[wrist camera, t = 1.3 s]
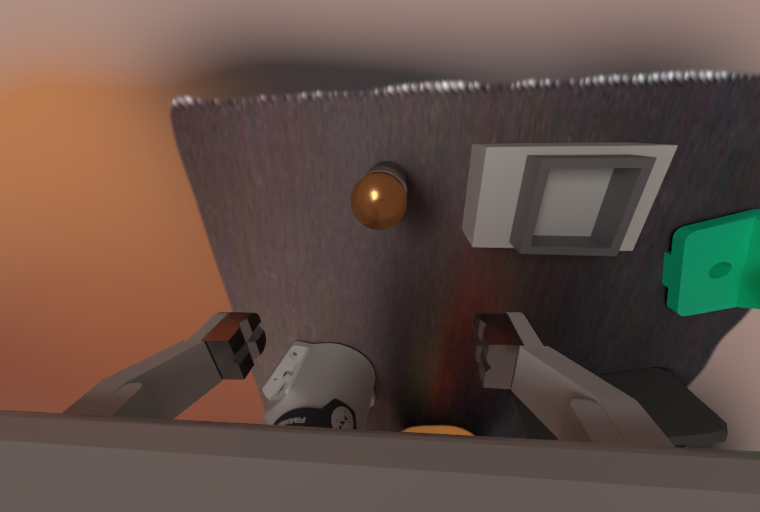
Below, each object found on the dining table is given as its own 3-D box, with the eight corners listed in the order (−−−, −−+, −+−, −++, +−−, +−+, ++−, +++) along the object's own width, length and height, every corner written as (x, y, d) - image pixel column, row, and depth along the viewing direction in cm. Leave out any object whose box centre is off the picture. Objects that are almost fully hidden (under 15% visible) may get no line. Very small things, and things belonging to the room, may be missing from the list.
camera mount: (665, 225, 32) (770, 265, 23) (744, 206, 30) (894, 240, 21) (659, 305, 36) (745, 365, 27) (728, 292, 35) (844, 351, 25)
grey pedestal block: (626, 142, 28) (713, 147, 20) (595, 230, 33) (657, 264, 25) (472, 143, 30) (496, 149, 22) (461, 228, 34) (478, 259, 26)
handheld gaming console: (509, 398, 46) (533, 462, 37) (507, 387, 45) (531, 451, 36) (663, 376, 41) (734, 445, 32) (664, 364, 40) (738, 431, 31)
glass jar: (386, 211, 34) (379, 240, 25) (357, 182, 33) (339, 202, 24) (415, 182, 32) (418, 203, 23) (386, 151, 31) (377, 160, 22)
